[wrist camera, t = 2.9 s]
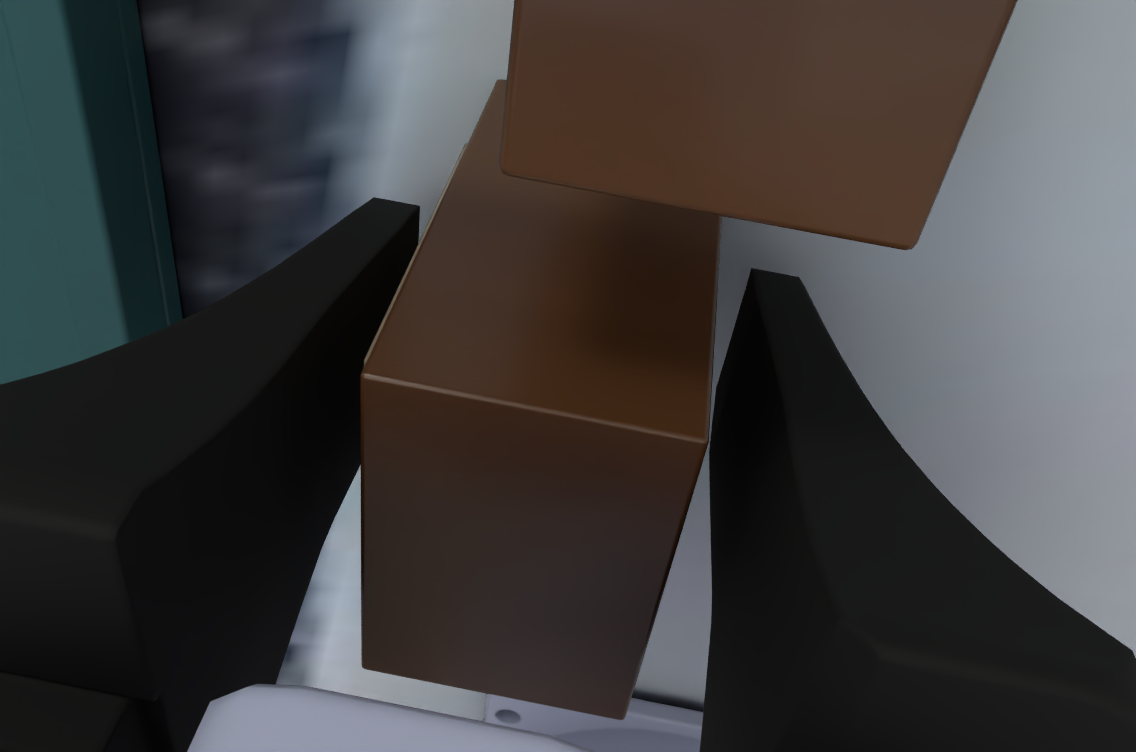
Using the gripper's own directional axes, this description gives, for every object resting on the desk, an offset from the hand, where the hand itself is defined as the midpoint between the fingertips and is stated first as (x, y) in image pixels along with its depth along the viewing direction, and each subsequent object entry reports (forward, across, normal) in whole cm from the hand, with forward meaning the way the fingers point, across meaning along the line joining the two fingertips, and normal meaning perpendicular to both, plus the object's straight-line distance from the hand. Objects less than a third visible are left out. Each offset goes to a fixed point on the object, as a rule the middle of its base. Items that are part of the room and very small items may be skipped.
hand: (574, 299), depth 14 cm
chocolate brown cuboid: (+1, 0, 0) cm, 1 cm away
